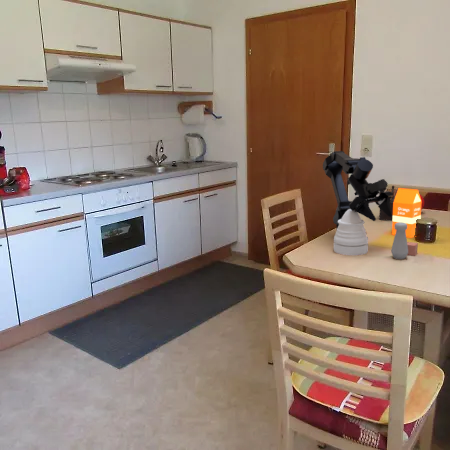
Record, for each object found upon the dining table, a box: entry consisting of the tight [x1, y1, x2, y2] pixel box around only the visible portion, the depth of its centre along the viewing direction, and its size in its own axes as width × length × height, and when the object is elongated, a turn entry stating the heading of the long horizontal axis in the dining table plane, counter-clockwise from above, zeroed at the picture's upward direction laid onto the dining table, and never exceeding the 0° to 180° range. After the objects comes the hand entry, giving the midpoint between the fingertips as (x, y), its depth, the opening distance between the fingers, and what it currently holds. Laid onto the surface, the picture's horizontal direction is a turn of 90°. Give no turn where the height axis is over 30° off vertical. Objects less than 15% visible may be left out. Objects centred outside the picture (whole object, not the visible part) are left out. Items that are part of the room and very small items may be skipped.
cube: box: [407, 241, 419, 257], centre depth 168 cm, size 4×4×4 cm
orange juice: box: [391, 187, 422, 239], centre depth 192 cm, size 8×9×20 cm
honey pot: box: [333, 209, 369, 256], centre depth 174 cm, size 13×13×18 cm
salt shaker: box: [390, 222, 408, 260], centre depth 163 cm, size 6×6×13 cm
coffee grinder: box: [378, 185, 396, 222], centre depth 221 cm, size 16×11×18 cm
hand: (383, 218), depth 168 cm, fingers open, 9 cm apart
